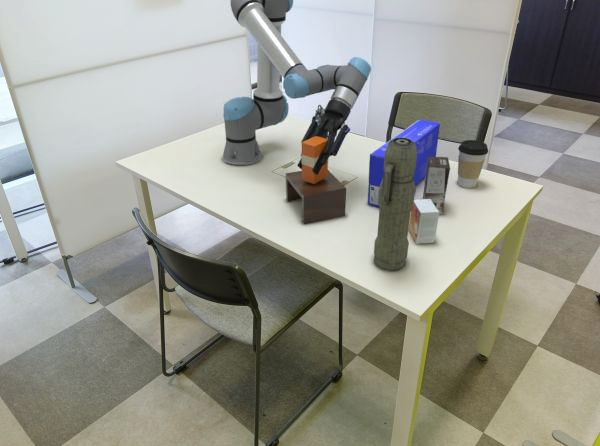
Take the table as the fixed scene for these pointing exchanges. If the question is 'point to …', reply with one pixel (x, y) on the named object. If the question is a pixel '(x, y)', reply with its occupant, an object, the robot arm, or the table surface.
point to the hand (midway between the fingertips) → (307, 170)
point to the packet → (313, 159)
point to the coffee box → (436, 181)
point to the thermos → (395, 204)
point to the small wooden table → (317, 197)
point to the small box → (423, 221)
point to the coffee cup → (470, 162)
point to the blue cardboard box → (426, 146)
